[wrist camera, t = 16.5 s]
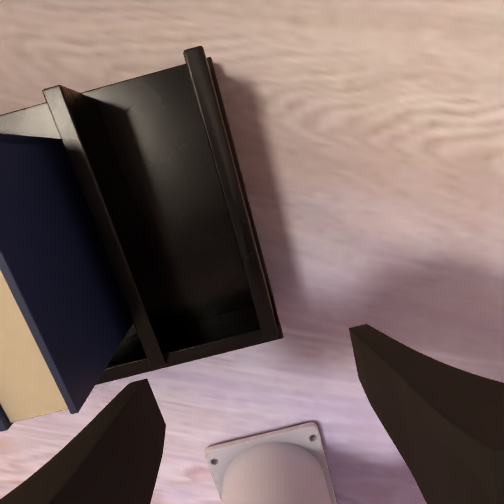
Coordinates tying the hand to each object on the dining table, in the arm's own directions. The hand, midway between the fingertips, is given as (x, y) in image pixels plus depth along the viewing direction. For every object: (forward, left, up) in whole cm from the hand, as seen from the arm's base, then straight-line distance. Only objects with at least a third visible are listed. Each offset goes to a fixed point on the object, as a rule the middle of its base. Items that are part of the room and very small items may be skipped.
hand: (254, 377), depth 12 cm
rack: (+5, +8, -9) cm, 13 cm away
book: (+5, +8, -8) cm, 13 cm away
